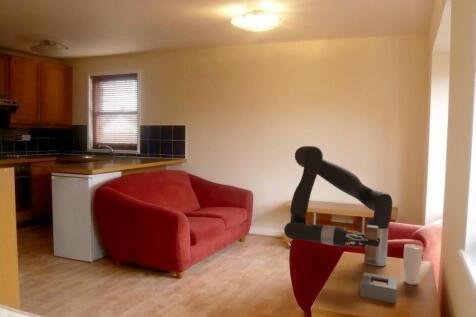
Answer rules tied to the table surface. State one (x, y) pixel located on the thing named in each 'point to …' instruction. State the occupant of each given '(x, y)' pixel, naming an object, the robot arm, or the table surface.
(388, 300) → the box
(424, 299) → the table surface
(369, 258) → the tall brown pillar
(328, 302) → the table surface
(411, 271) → the drinking glass
